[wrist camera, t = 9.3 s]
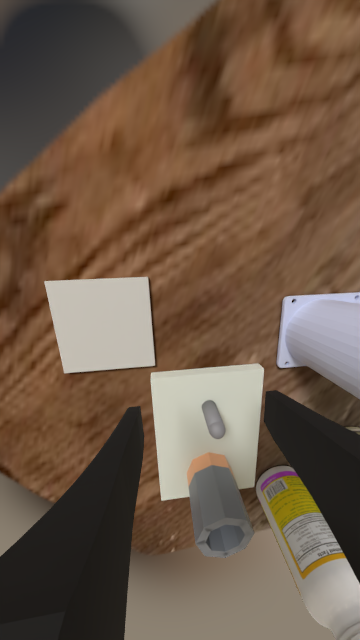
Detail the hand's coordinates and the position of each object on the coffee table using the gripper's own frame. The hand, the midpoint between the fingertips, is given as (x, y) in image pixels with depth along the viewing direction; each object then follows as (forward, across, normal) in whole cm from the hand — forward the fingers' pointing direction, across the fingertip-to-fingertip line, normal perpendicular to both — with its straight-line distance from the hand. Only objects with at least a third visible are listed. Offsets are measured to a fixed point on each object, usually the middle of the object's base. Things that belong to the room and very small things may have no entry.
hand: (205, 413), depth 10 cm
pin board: (+9, -2, +11) cm, 15 cm away
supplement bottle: (+10, -12, +21) cm, 26 cm away
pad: (+9, +8, -3) cm, 12 cm away
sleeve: (+8, -2, +16) cm, 18 cm away
